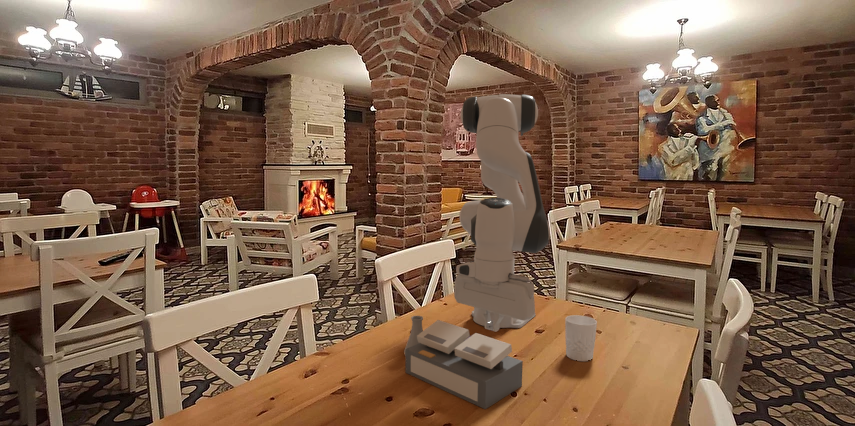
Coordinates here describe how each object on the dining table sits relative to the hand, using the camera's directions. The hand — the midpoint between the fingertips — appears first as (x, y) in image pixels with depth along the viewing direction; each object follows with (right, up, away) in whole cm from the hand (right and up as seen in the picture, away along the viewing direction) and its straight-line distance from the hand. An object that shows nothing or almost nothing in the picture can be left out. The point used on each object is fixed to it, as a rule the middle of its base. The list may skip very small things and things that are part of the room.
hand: (491, 329), depth 105 cm
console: (-7, -13, +3) cm, 15 cm away
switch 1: (-11, -4, +7) cm, 13 cm away
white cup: (+26, -12, +17) cm, 33 cm away
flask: (-17, -11, +18) cm, 28 cm away
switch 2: (-2, -5, -2) cm, 5 cm away
